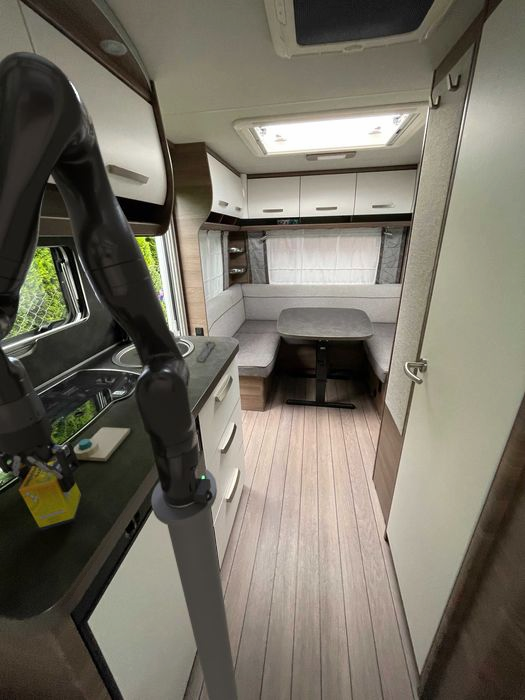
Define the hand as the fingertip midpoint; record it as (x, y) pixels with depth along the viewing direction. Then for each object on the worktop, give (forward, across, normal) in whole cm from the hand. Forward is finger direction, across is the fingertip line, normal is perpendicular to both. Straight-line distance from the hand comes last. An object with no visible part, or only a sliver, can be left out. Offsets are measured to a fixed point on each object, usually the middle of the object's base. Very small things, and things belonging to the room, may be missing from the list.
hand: (50, 487), depth 54 cm
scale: (+11, -7, +23) cm, 26 cm away
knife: (+11, +2, +91) cm, 92 cm away
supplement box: (+7, 0, 0) cm, 7 cm away
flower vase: (+11, 0, +49) cm, 51 cm away
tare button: (+8, -9, +19) cm, 23 cm away
